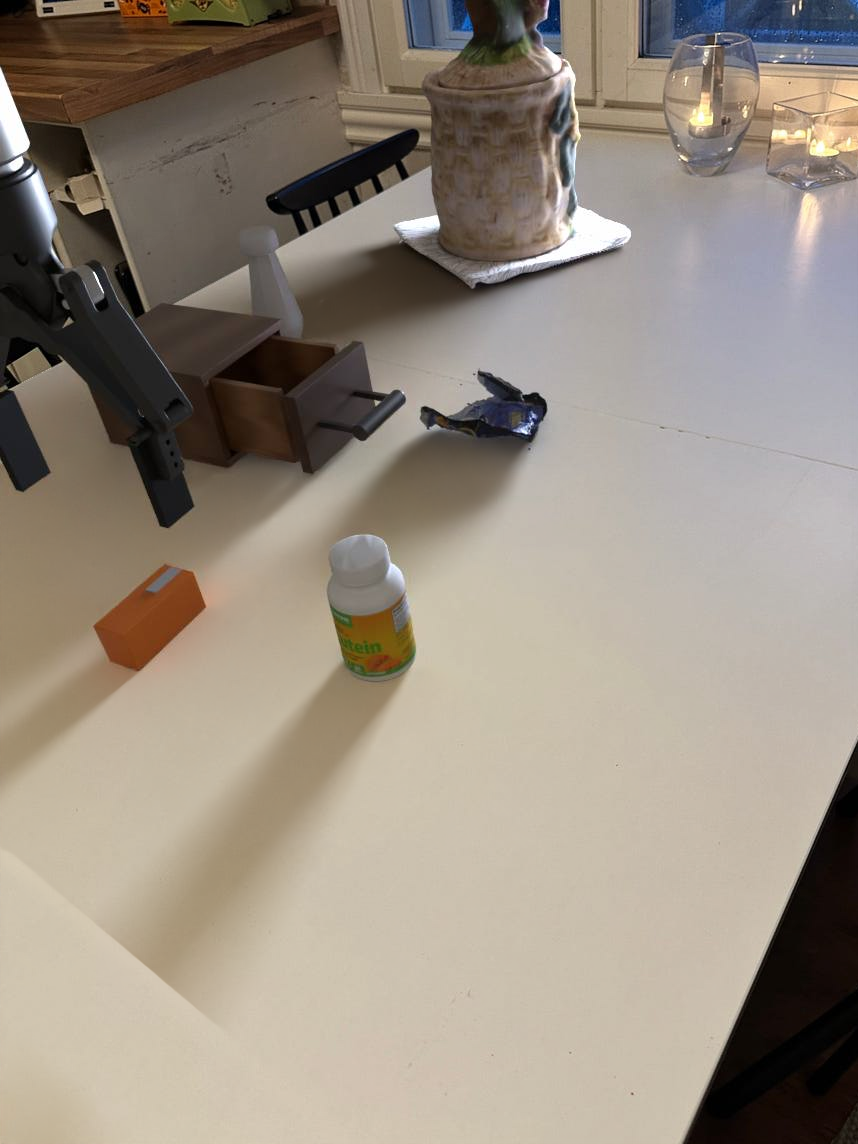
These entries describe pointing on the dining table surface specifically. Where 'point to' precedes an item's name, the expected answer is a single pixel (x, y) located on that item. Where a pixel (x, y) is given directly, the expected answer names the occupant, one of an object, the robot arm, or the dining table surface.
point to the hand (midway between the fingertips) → (102, 498)
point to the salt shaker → (269, 279)
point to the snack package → (494, 412)
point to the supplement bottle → (370, 609)
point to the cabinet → (195, 371)
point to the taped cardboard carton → (150, 617)
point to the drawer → (299, 400)
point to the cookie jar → (505, 154)
